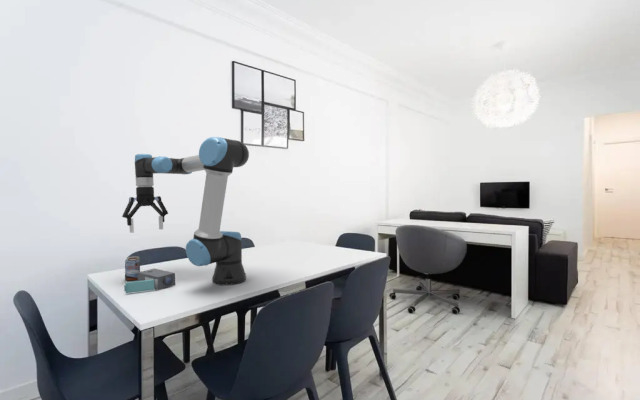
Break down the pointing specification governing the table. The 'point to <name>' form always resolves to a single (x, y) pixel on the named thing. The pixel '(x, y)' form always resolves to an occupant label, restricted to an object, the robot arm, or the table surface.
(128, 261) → the beverage can
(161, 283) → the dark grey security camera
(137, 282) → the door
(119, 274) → the table surface
